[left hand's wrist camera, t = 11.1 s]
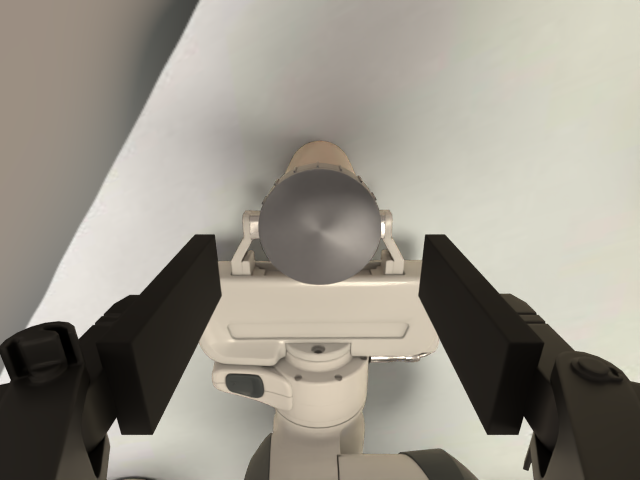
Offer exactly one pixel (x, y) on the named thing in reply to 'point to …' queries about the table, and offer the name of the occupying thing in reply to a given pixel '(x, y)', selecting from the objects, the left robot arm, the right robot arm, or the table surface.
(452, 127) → the table surface
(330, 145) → the jar
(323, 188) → the lid
